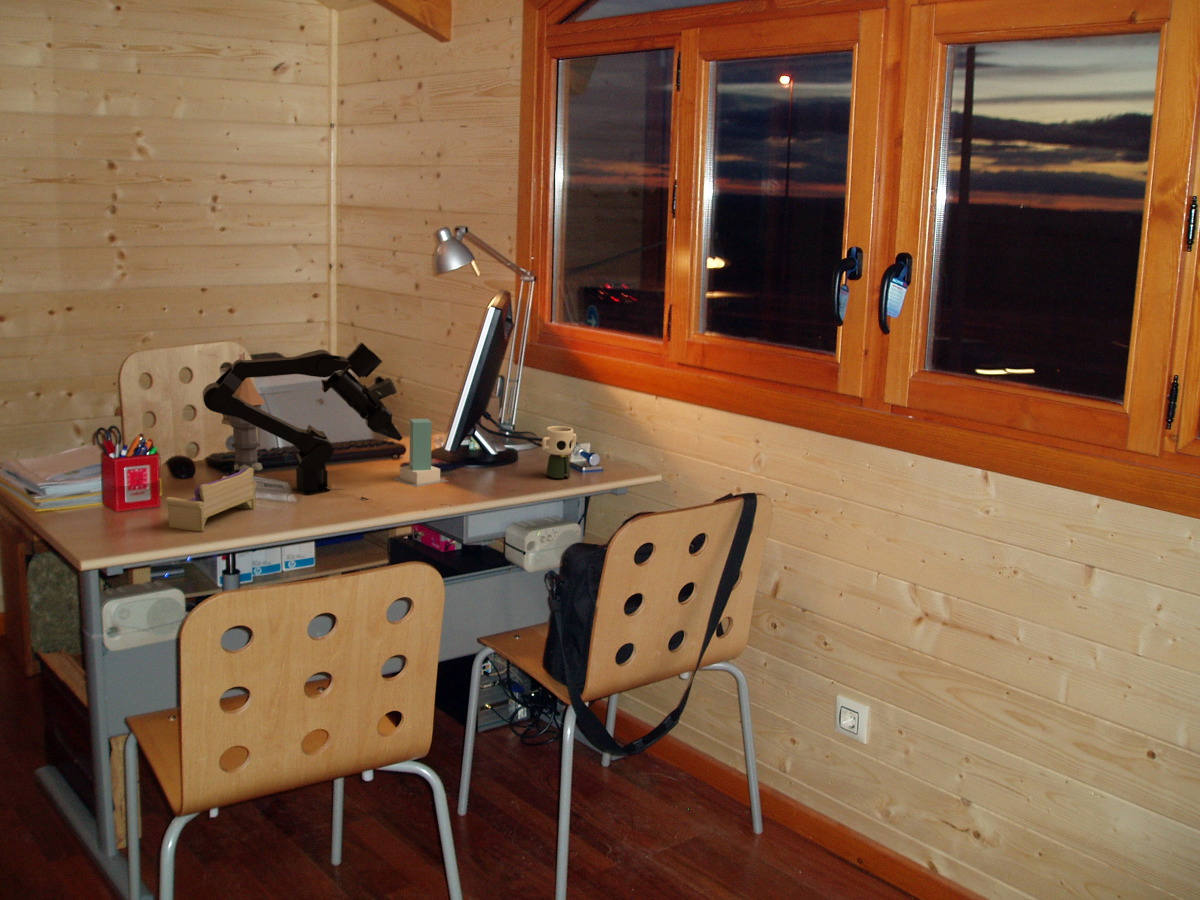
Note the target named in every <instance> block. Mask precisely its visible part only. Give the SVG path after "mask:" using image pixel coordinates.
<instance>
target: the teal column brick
mask: <svg viewBox="0 0 1200 900" xmlns="http://www.w3.org/2000/svg"><path fill="white" fill-rule="evenodd" d="M432 423H433V422H432V421H431V420H430V419H429V418H410V419H409V466H410V467H411V469H412V470H413V471H415V470H431V466H432V433H433V431H432V430H433V428H432V425H433V424H432Z"/></svg>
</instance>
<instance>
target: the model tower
mask: <svg viewBox="0 0 1200 900" xmlns="http://www.w3.org/2000/svg"><path fill="white" fill-rule="evenodd" d="M238 356H239V357H238V359H237V360H246V359H245V352H243V353H241V354H238ZM235 394H236V395H237V396H239V397H240V398H241V399H242V400H244V401H245V402H247V403H249V404H251V405H253V406H255V407H257V408H259V409H261V410H262V406H261V405H263V404H265V403H266V402H265V400H264V399H263V398H262V397H261V395H260V394H259V392H258V390H257V389H256V387H255V385H254V383H253V381H252V379H251V377H250V378H246V379H245V380H244V381H243V382H242V384H241V385H240V386H239V388H238V389H237V390H236V392H235ZM221 424H222V425H227V426H230V427H231V428H232V431H233V432H232V433H233V434H232V435H233V443H231V447H232V448H233V449H234V464H233V466H234V470H233V471H238V472H239V471H241V470H243V469H246V468H253V470H254V471H261V470H263V465H262V463H261V462H259V460H258V448H259V447H260V446H261V443H260V442H258V436H257V428H258V427H257V426H255V425H253V424H251V423H248V422H246V421H244V420H242V419H240V418H238V417H233V416H227V415H223V414H222V419H221Z"/></svg>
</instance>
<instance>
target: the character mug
mask: <svg viewBox="0 0 1200 900" xmlns="http://www.w3.org/2000/svg"><path fill="white" fill-rule="evenodd" d="M545 429H546V430H545V437H542V441H541V448H542V449H541V450H544V451H545V452H546V453H549V454H550V455H549V456H548V460H547V461H548V462H547V467H546V476H548V477H550V478H553V479H564V478H565V475H566V478H569V477H570V476H571V472H570V471H571V470H570V460H569V459H570V458H569V456H568V455H569V454H571V453H572V452H573V450H574V446H576V444H577V434H576V433H574V428H572V427H571V426H570V427H569V426H563V425H561V426H560V425H553V426H548V427H546V428H545Z"/></svg>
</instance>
